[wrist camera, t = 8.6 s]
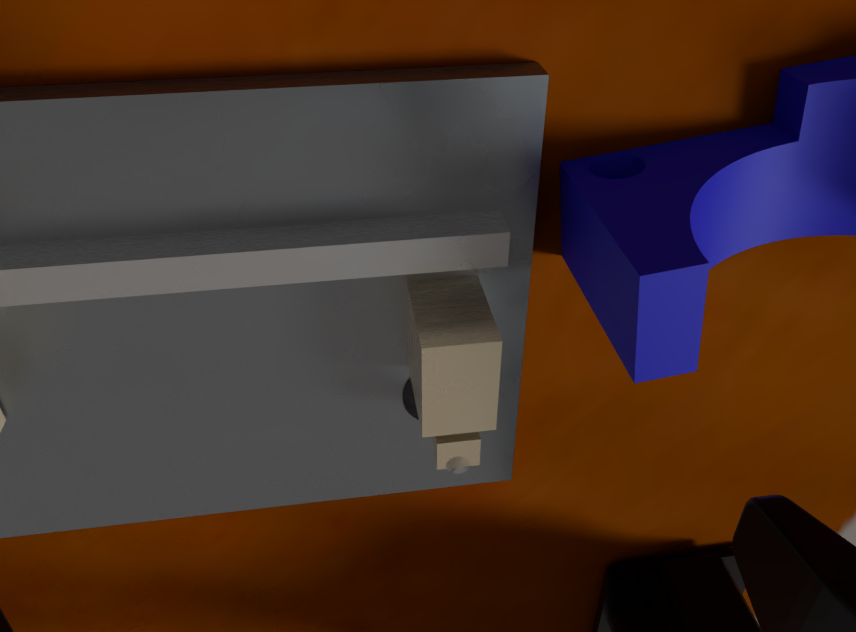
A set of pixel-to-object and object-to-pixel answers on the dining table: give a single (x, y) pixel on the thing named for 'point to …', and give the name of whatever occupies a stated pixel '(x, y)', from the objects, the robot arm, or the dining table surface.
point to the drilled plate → (261, 289)
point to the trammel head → (2, 420)
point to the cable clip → (705, 212)
